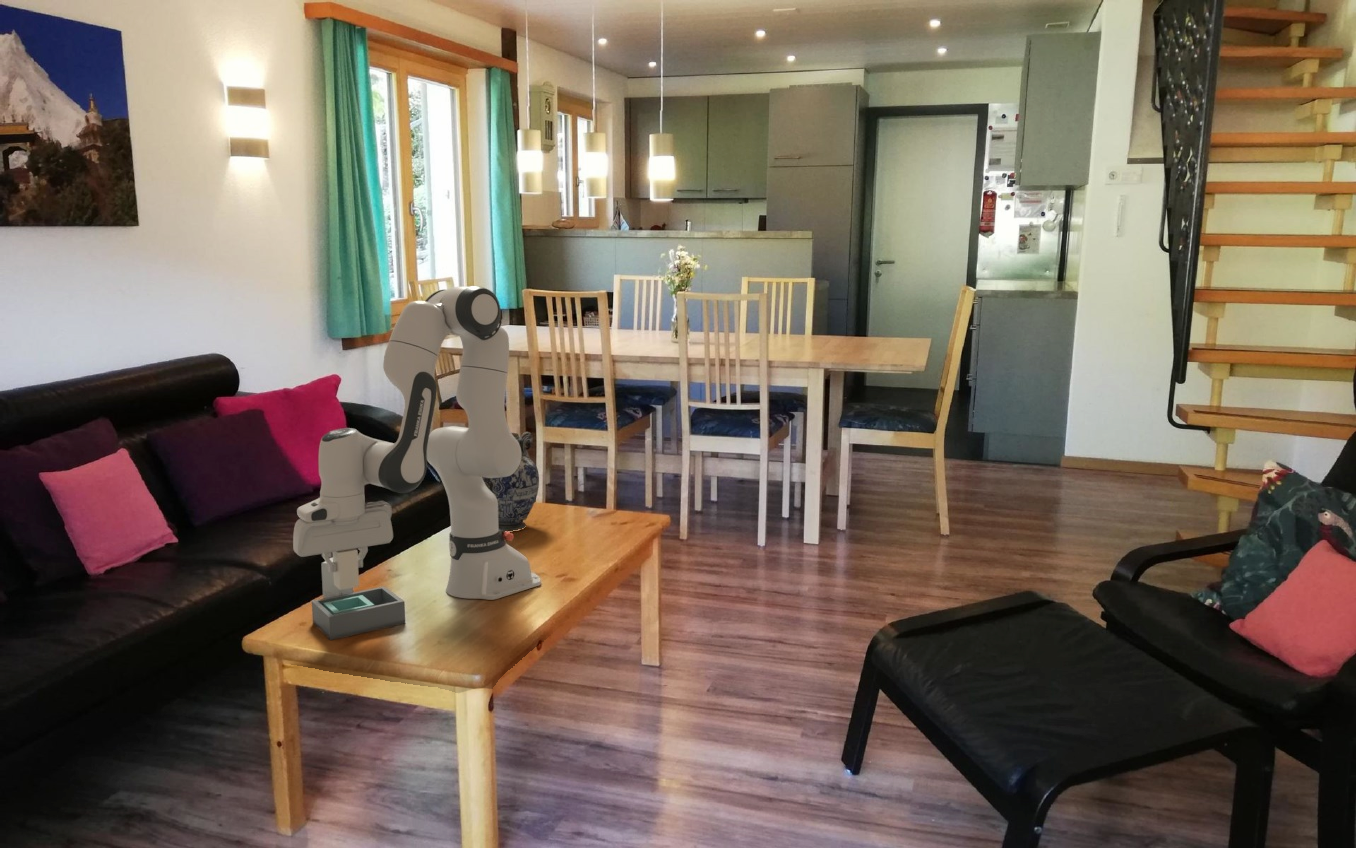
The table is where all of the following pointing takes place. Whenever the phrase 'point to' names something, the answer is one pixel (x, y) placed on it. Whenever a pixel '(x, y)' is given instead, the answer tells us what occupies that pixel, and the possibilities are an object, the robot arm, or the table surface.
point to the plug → (346, 569)
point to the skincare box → (331, 583)
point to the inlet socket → (347, 604)
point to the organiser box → (360, 614)
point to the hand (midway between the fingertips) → (345, 569)
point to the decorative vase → (516, 489)
